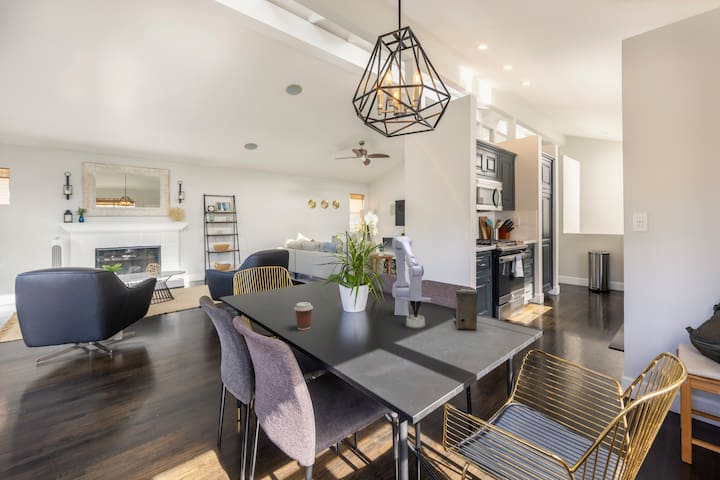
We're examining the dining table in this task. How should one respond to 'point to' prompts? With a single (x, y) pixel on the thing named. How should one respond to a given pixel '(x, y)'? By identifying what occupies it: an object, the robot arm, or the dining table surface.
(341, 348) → the dining table surface
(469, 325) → the vintage camera
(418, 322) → the lens barrel
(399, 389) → the dining table surface
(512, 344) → the dining table surface
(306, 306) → the coffee cup
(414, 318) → the beige short cylinder
